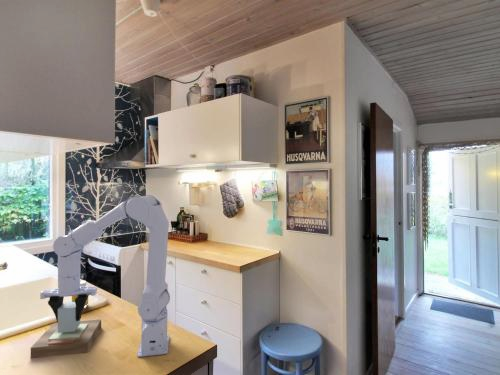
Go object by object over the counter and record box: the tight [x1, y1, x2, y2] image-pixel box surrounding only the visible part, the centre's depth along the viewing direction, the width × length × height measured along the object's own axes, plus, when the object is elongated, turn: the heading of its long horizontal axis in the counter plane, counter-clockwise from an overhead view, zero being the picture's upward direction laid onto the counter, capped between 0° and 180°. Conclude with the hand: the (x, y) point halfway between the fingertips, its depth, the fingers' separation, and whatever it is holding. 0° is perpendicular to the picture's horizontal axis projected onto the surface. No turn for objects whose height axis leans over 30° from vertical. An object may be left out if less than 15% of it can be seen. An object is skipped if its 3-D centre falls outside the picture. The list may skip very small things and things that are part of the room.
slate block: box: [58, 301, 81, 333], centre depth 88 cm, size 4×4×7 cm
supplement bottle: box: [71, 280, 89, 306], centre depth 111 cm, size 5×5×10 cm
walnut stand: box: [30, 318, 102, 359], centre depth 88 cm, size 14×14×3 cm
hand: (69, 320), depth 88 cm, fingers closed on slate block, 4 cm apart
